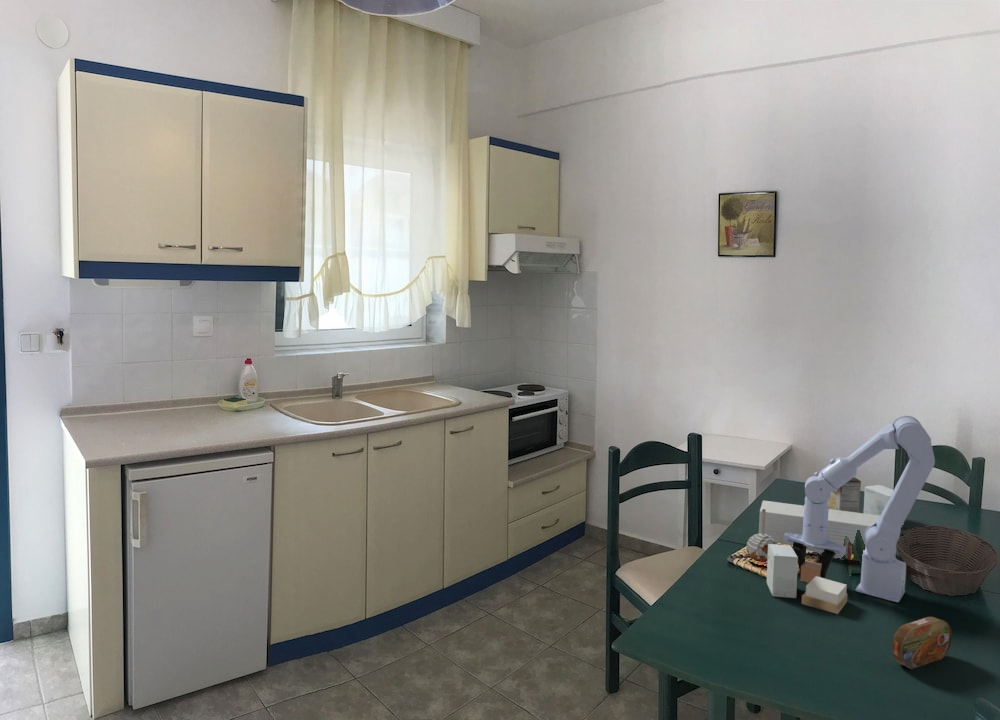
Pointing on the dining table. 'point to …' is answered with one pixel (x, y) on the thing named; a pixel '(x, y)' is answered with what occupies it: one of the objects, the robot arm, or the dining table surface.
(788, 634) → the dining table surface
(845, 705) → the dining table surface
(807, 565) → the terracotta block
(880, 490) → the skincare box
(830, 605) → the oak slab
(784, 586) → the small box
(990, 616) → the dining table surface
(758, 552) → the decorative ornament
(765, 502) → the long white box
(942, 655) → the tin
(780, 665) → the dining table surface
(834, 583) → the off-white slab
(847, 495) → the coffee box
